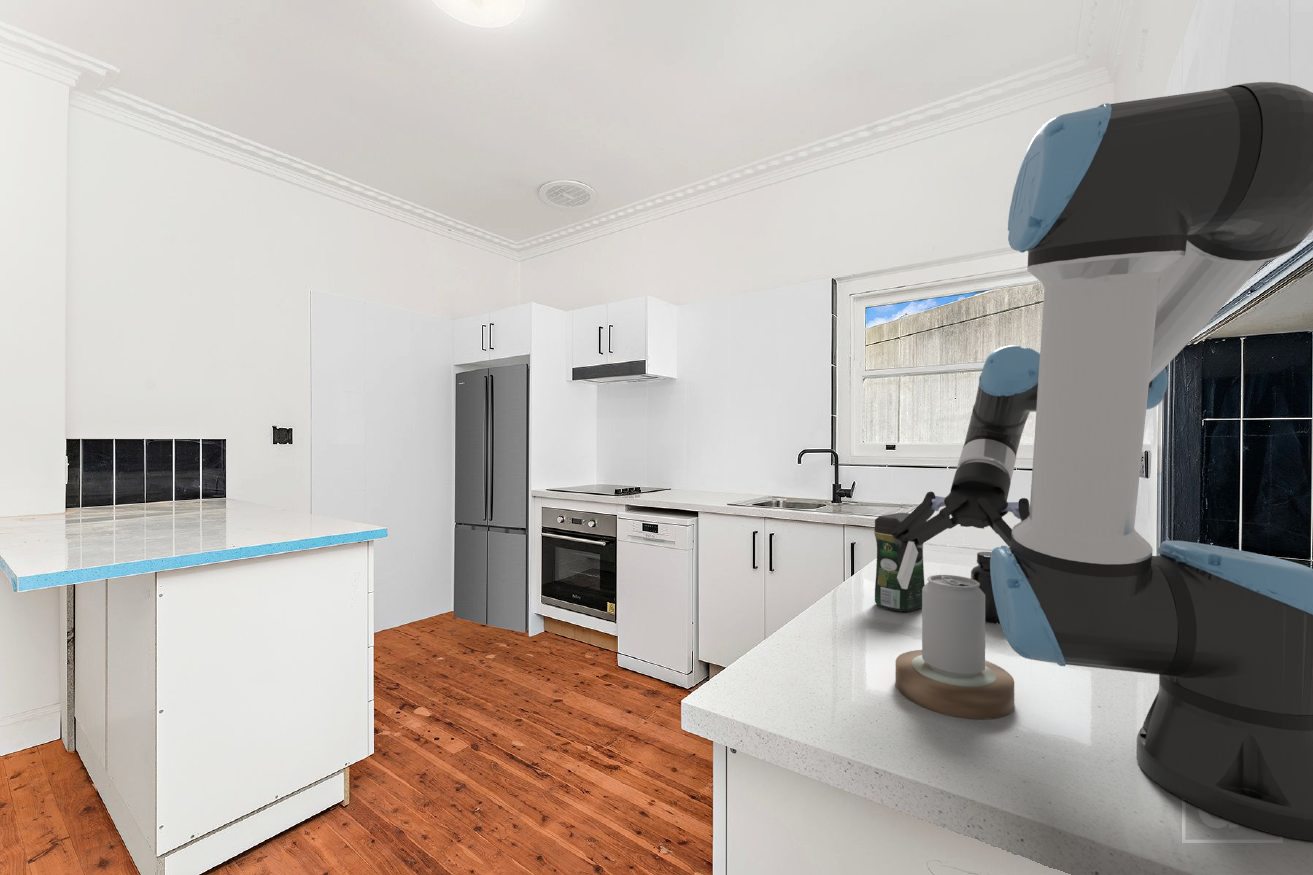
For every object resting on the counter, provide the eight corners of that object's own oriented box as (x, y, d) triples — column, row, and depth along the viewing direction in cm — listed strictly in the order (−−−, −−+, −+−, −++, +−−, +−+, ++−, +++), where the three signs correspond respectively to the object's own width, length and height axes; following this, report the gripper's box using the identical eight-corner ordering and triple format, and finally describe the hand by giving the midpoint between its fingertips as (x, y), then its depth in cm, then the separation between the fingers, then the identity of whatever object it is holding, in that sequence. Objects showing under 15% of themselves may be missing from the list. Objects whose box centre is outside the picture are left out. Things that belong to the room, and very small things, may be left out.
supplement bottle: (961, 615, 107) (962, 552, 107) (985, 610, 110) (986, 548, 109) (997, 626, 101) (997, 559, 100) (1021, 621, 103) (1021, 556, 103)
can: (951, 683, 71) (951, 588, 71) (909, 660, 78) (909, 574, 78) (999, 676, 73) (999, 584, 73) (954, 654, 80) (954, 570, 80)
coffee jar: (895, 597, 119) (896, 509, 118) (932, 606, 112) (932, 513, 112) (866, 605, 113) (867, 512, 113) (902, 615, 107) (903, 517, 106)
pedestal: (1041, 715, 69) (1041, 689, 69) (934, 722, 68) (934, 696, 68) (966, 667, 83) (966, 646, 83) (876, 672, 82) (876, 650, 82)
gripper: (1085, 497, 81) (1069, 629, 70) (906, 486, 98) (870, 590, 87) (1080, 462, 77) (1062, 595, 66) (894, 456, 94) (855, 562, 83)
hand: (953, 593), depth 77 cm, fingers open, 13 cm apart
